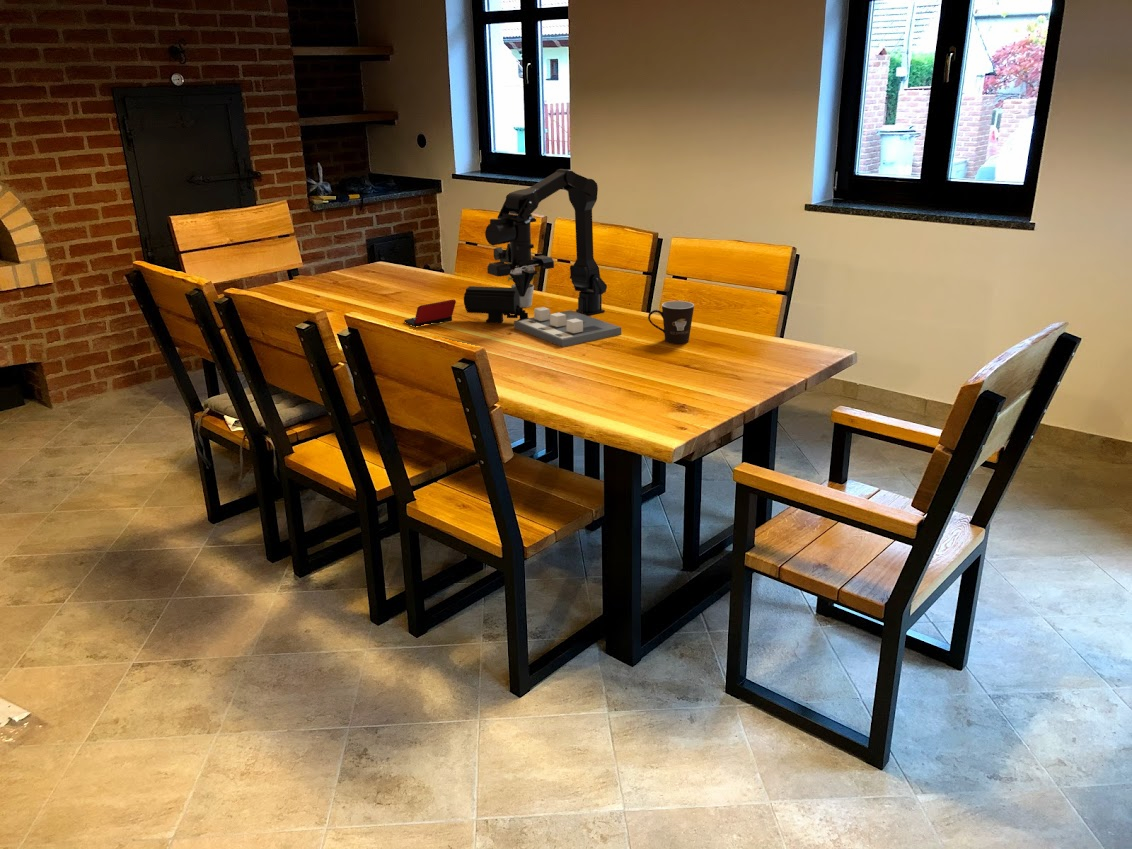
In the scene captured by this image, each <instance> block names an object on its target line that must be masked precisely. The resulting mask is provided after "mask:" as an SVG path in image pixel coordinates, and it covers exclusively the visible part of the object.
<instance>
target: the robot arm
mask: <svg viewBox="0 0 1132 849" xmlns="http://www.w3.org/2000/svg"><path fill="white" fill-rule="evenodd" d="M561 189H563V190H564V191H567V193H568V200H569V202H570V204H571V206H572V208H573V210H574V220H575V221H574V223H575V244H576V245H575V247H576V260H575V261H574V263H573V265H570V266H569V272H570V276H569V279H571V284H572V285H573V287H574V288H573V289H574V291H575V292H579V293H578V298H577V308H576V309H575V312H578V313H581V314H584V315H587V316H590V315H595V314H601V313H605V312H606V311H605V309H603V308H602V307H603V306H602V304H603V303H602V299H603V298H602V296H603V294H604V293H605V294H606V291H607V289H608V285H607V284H606V283H605V281H604V280H603V279H602V277H601V273H600V268H599V265H598V264H597V262H596V260H595V258H594V233H593V228H594V227H593V208H594V206H595V204H596V202H597V201H598V200H597V199H598V190H599V188H598V183H597V182H596V181H595V180H594V179H592V178H587V177H585V176H582V175H581V174H577V173H576V172H575V171H573V170H571V169H567V168H566V169H564V168H559V169H556V170H555V171H554V172H553V173H552V174H550V175H548V176H546V177H545V178H543V179H542V180H540V181H538V182H537V183H535V184H533V185H532V186H530V187H527V188H522V189H518V190H514V191H512V192H509V193H508V194H506V196H505V201H504V203H503V205H502V207H501V209H500V210H499V213H498V215H497V218H491V219H490V220H489V224H487V226H486V228H485V231H484V235H485V239H486V241H487V242H488V244H489V245H491V246H497V245H502V244H507V245H506V249H503V248H502V247H495V248H493V258H494V259H493V260H495V261H497V262H490V263H489V264H488V265H487V267H486V268H487V269H486V270H487V274H488V275H491V276H494V277H508V276H511V277H512V279H513V281H514V282H515V283H514V282H513V281H512V282H513V283H514V284H515V285H516V287H517V290H518V293H519V295H520V296H521V297H524V296H525V293H526V291H527V289H528V287H529V284H531V283H532V281H531V280H532V279H533V280H534V278H533V277H535V276H536V275H537V274H538V271H537V270H535V268H537V267H542V268H543V269H545V270H550V269H554V268H555V261H554V258H552V257H550V256H547V255H543V254H542V255H537V256H532V249H534V248H535V246H534V243H532V238H531V237H532V234H531V233H532V231H531V230H532V229H531V223H535V222H537V219H536V218H535V216H533V215H532V213H533V212H534V211H536V210H538V209H537V208H538V207H539V204H540V203H541V202H542V201H544V200H545V199H547V198H548V197H551V195H554V194H555V193H557V192H558V191H560V190H561ZM506 262H508V263H511V264H508V263H506ZM517 266H518V267H517Z"/></svg>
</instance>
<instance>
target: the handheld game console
mask: <svg viewBox="0 0 1132 849" xmlns="http://www.w3.org/2000/svg"><path fill="white" fill-rule="evenodd" d="M456 303H457V301H456V300H455V299H448V300H442V301H438V302H437V301H436V302H434V303H427V304H421V305H419V306H418V307H417V308H416V314H415V317H411V318H407V319H404V321H403V322H404V323H405V322H406V323H408V324H409V325H408V324H407V325H408V326H410V325H412V326H415V327H416V326H421V325H424V324H431V323H437V324H441V323H440V322H443V323H447V322H449V323H450V322H451V321H453V314H454V310H455V306H456ZM406 323H405V324H406ZM431 325H432V324H431ZM412 326H411V327H412Z"/></svg>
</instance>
